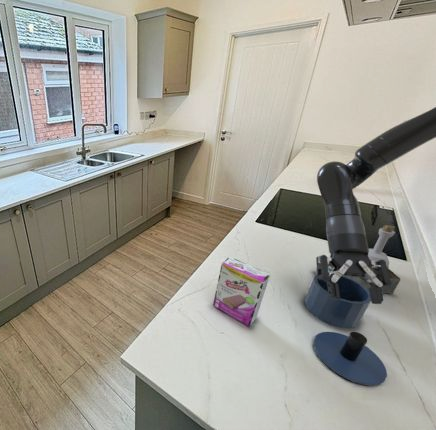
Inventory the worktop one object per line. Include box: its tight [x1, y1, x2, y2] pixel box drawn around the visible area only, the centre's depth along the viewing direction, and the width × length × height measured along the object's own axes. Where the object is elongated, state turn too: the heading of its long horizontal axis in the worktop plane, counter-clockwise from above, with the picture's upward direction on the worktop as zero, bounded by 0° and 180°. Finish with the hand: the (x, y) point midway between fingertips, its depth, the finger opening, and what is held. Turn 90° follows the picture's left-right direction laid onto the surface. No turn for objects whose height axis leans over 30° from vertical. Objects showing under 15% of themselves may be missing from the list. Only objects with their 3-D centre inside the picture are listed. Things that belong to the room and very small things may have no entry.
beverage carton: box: [314, 262, 401, 295], centre depth 85 cm, size 8×19×7 cm, turn 77°
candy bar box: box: [212, 256, 271, 328], centre depth 73 cm, size 11×5×16 cm, turn 43°
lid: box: [312, 331, 388, 387], centre depth 62 cm, size 14×14×8 cm
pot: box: [304, 272, 372, 329], centre depth 75 cm, size 13×13×9 cm
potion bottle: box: [368, 224, 396, 269], centre depth 89 cm, size 9×9×18 cm
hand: (356, 301), depth 62 cm, fingers open, 8 cm apart
